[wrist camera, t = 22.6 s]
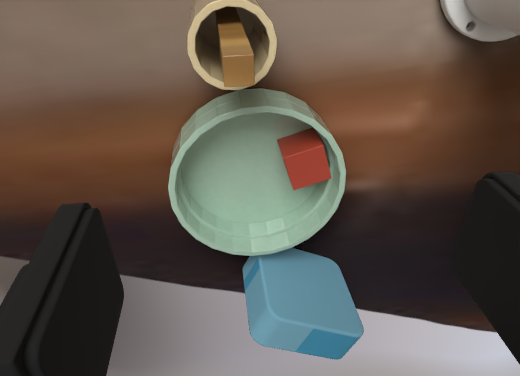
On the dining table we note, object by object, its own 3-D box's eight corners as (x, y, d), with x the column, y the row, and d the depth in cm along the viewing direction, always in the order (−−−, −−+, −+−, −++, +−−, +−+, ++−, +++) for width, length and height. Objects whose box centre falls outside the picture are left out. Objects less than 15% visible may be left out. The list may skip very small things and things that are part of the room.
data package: (240, 261, 50) (250, 344, 40) (255, 236, 48) (269, 316, 38) (320, 282, 54) (346, 362, 44) (337, 259, 52) (369, 338, 42)
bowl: (213, 55, 35) (214, 72, 31) (362, 128, 41) (380, 151, 37) (149, 198, 43) (143, 227, 39) (282, 243, 49) (290, 272, 45)
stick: (214, 3, 33) (222, 56, 19) (234, 2, 33) (254, 54, 19) (216, 24, 33) (224, 87, 20) (235, 23, 34) (254, 85, 20)
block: (276, 139, 40) (283, 158, 37) (313, 126, 40) (323, 144, 37) (286, 170, 43) (293, 190, 39) (321, 158, 42) (331, 178, 39)
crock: (208, -35, 31) (209, -21, 23) (270, 1, 34) (292, 26, 25) (181, 33, 34) (173, 67, 26) (240, 63, 36) (251, 103, 28)
